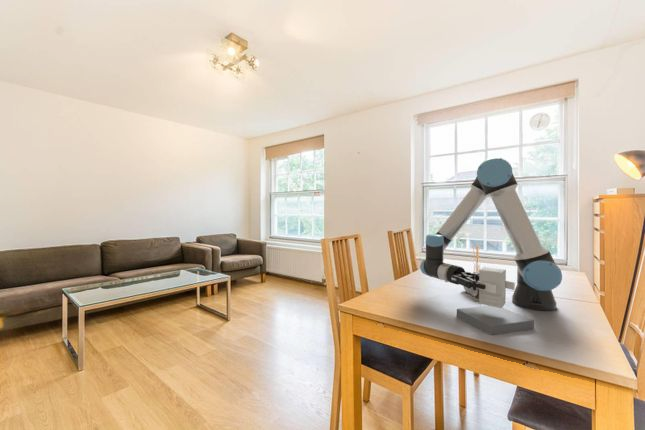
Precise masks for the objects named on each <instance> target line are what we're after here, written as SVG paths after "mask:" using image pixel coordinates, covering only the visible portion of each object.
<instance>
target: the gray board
mask: <svg viewBox="0 0 645 430" xmlns="http://www.w3.org/2000/svg"><path fill="white" fill-rule="evenodd" d="M456 317H457V318H458V319H461V321H464V322H465V323H468V324H470V325H471V326H472V327H473V326H474V327H475V328H478V329H479V330H481V331H483V332H485V333H487V334H489V335H490V336H493V335H499V334H507V333H514V332H521V331H528V330H534V329H535V319H532V318H530V317H526V316H524V315H522V314H519V313H518V312H515V311H512V310H509V309H507V308H505V307H502V308H498V307H493V306H488V305H483V306H482V305H481V306H472V307H471V306H470V307H463V308H457V309H456Z"/></svg>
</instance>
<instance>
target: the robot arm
mask: <svg viewBox="0 0 645 430" xmlns="http://www.w3.org/2000/svg"><path fill="white" fill-rule="evenodd" d="M470 186H471V187H470V190H469V191H468V192H467V194H466V195H465V196H464V197H463V199H461V202H459V204H458V205H457V206H456V207H455V209H454V210H453V211H452V213H451V214H450V215H449V216H448V218H447V219H446V220H445V222H444V223H443V224H442V225H441V227H440V228H439V230H438V231H437V232H436V233H435V234H434V233H433V234H431V233H430V234H427V235H426V236H425V259H423V260H422V261H421V263H420V265H419V268H420V271H421V273H422V274H423V275H425V276H428V277H430V278H433V279H434V278H435V279H438V280H440V281H441V280H442V281H444V282H445V283H451V284H455V285H457V286H458V285H460V286H465V287H467V288H471V287H472V288H473V290H476V287H477V289H481V290H484V291H487V292H491V293H494V294H495V293H496V285H492V284H489V283H485V282H481V281H479V272H475V271H473V272H470V271H466V270H465V268H463V266H459V265H454V264H451V263H446V262H444V250H446V249H447V247H448V246H449V244H450V243H451V242H452V241H453V239H454V238H455V237H456V236H457V234H458V233H459V232H460V231H461V229H462V228H463V227H464V226H465V224H467V223H468V221H469V220H470V218H471V217H472V216H473V215H474V214H475V213H476V211H477V210H478V209H479V208H480V207H481V205H482V204H483V203H484V202H485V200H486V199H487V198H490V199H491V200H492V202H493V204H494V208H495V209H496V211H497V213H498V215H499V217H500V220H501V222H502V225H503V226H504V228H505V231H506V233H507V235H508V237H509V239H510V241H511V244H512V247H513V248H514V251H515V253H516V254H515V256H514V258H513V259H514V261H515V263H516V265H517V267H516V268H517V270H516V272H517V273H516V274H517V275H516V276H517V277H516V281H517V282H515V281H511V280H507V279H506V289H509V290H511V291H513V294H512V296H511V300H512V303H513V304H514V305H517V306H520V307H522V308H527V309H530V310H537V311H554V310H556V309H557V301H556V300H555V295H554V294H553V293H554V292H553V291H552V290H554V289H556V288H558V287H559V286H560V284H561V282H562V281H563V274H562V270H561V269H560V267H559V266H558V265H557V263H556V262H555V259H554V258H553V256H552V254H551V252H550V249H548V248H545V247H544V246H542V243H541V242H540V240H539V237H538V235H537V233H536V231H535V229H534V227H533V225H532V223H531V220H530V218H529V216H528V214H527V211H526V210H525V207H524V206H523V205H524V204H522V202H521V199H520V197H519V194H518V193H517V189H516V188H517V186H518V181H517V180H516V178H515V175H514V174H513V167H512V166H511V163H510V162H509V161H508V160H506V159H504V158H501V157H491V158H488V159H486V160H483V162H481V163H480V165H478V167H477V170H476V177H475V179H474V181H473V182H471V184H470ZM474 279H475V280H474Z"/></svg>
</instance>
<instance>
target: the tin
mask: <svg viewBox="0 0 645 430" xmlns="http://www.w3.org/2000/svg"><path fill="white" fill-rule="evenodd" d="M474 280H475V279H474ZM463 289H464V291H465V292H466V294H469V295H470V296H471V297H473V298H474V299H477V298H478V299H479V289H477V287H476V290H473V288H472V287H471V288H467V287H465V286H463Z"/></svg>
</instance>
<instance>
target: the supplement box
mask: <svg viewBox="0 0 645 430" xmlns="http://www.w3.org/2000/svg"><path fill="white" fill-rule="evenodd" d="M478 273H479V281H481V282H485V283H489V284H492V285H496V293H495V294H494V293H491V292H487V291H484V290H481V289H479V298H478V304H480V305H483V306H493V307H498V308H504V306H505V304H506V299H507V298H506V297H507V296H506V294H507V293H506V291H507V290H506V289H507V288H506V280H507V279H506V277H507V275H506V273H507V271H506V269H505V268H497V267H489V266H488V267H487V266H484V267H481V268H480V269H479V270H478Z"/></svg>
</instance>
